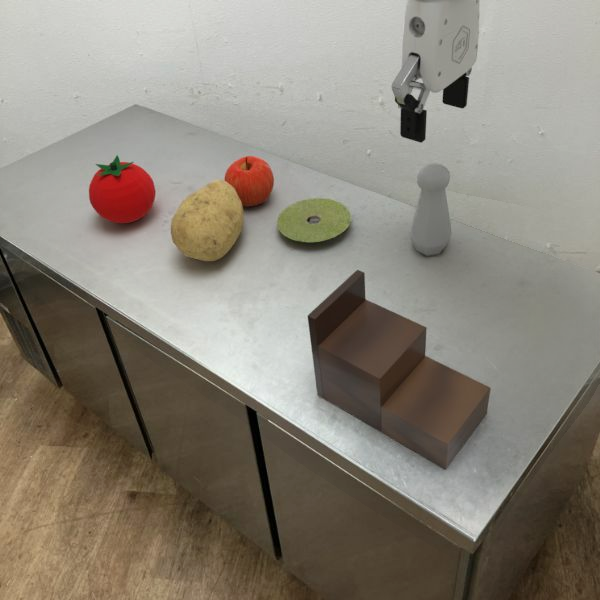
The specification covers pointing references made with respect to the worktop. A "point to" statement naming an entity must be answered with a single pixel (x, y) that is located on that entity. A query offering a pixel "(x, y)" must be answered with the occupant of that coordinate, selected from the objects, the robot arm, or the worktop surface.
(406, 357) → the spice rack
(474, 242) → the worktop surface
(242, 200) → the apple
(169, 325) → the worktop surface
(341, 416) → the worktop surface
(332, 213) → the mat
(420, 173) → the salt shaker
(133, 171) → the tomato
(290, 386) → the worktop surface
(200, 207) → the potato
